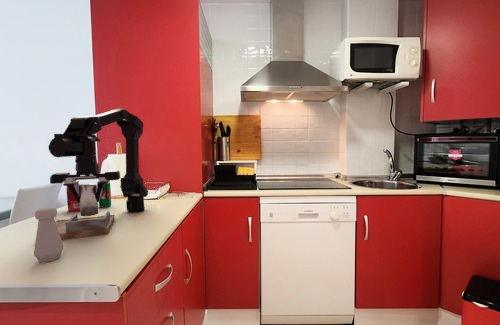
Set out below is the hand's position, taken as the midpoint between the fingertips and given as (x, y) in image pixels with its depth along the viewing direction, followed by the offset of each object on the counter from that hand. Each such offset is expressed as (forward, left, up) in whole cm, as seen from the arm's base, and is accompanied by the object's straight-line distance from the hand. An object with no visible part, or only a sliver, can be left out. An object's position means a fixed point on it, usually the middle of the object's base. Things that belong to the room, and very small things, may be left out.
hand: (89, 202), depth 83 cm
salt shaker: (+5, +20, -10) cm, 23 cm away
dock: (+3, -2, -10) cm, 10 cm away
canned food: (+11, -34, -10) cm, 37 cm away
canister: (0, 0, -4) cm, 4 cm away
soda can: (+1, -36, -10) cm, 37 cm away
